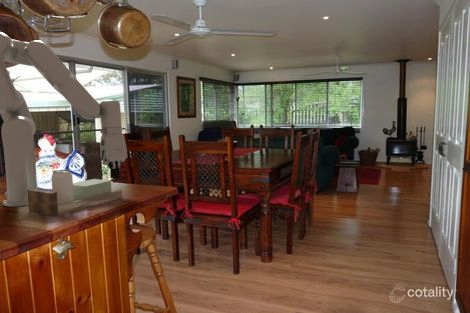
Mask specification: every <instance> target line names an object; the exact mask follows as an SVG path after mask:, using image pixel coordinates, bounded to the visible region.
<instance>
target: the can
mask: <svg viewBox="0 0 470 313" xmlns="http://www.w3.org/2000/svg"><path fill="white" fill-rule="evenodd" d="M73 181H74V180H73V173H72V172H71V170H70V169H58V170H54V171H52V175H51V189H52V190H51V192H57V203H58V205H61V204H65V203H69V202H73V201H74V196H73V183H74V182H73Z"/></svg>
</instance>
